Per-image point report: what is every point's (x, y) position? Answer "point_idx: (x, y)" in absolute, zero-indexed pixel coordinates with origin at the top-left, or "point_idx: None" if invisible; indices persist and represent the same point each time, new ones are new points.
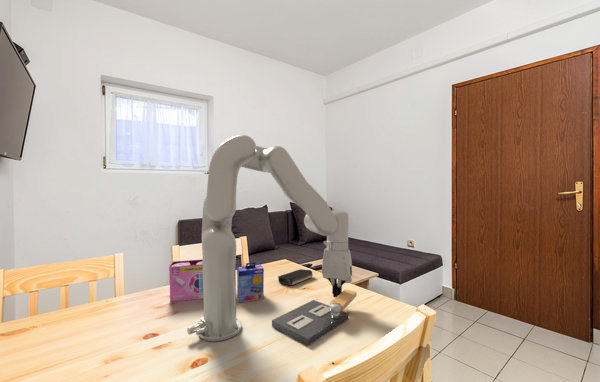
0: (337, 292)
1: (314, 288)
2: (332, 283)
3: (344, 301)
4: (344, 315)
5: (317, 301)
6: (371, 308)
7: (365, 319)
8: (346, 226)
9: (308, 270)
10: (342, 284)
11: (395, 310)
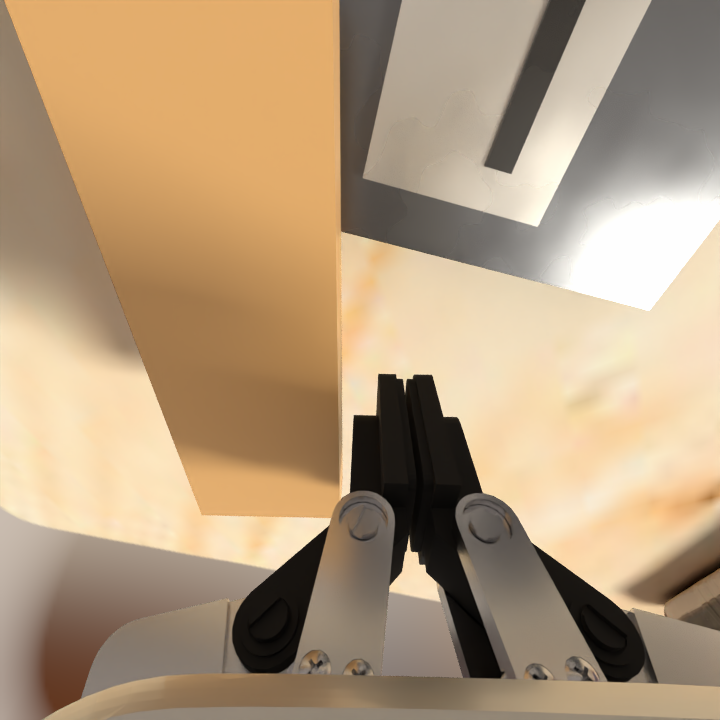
0: (380, 421)
1: (630, 515)
2: (495, 536)
3: (112, 170)
4: None
5: (598, 294)
6: (166, 431)
7: (84, 258)
8: None
9: None
10: (299, 555)
11: (39, 464)
